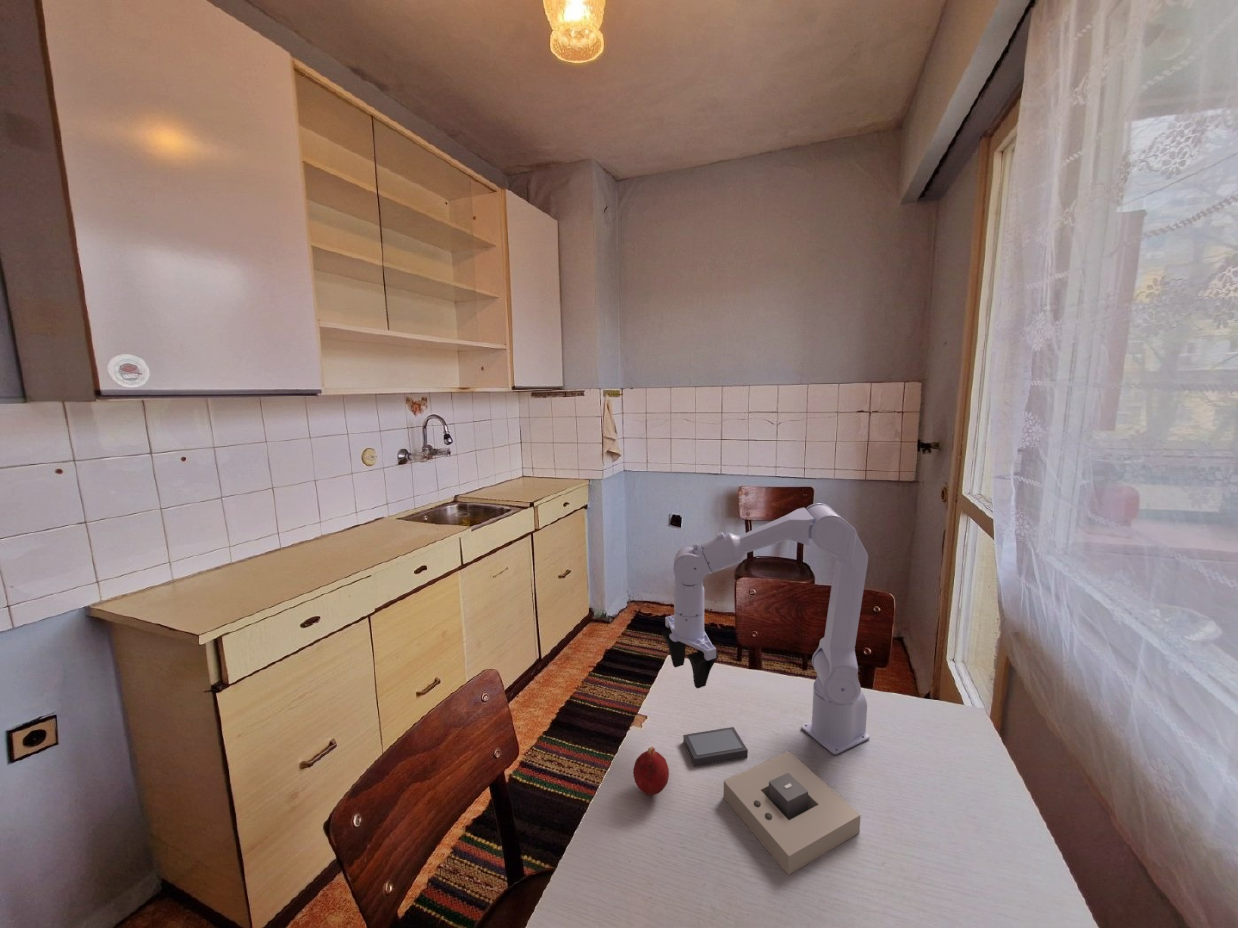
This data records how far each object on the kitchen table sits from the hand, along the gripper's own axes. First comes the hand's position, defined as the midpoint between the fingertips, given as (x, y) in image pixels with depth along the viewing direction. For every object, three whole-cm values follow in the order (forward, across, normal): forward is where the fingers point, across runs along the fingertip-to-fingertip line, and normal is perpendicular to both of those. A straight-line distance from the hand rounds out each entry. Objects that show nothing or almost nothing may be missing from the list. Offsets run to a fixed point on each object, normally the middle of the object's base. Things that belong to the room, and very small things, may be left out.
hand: (688, 675), depth 93 cm
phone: (+10, +8, 0) cm, 13 cm away
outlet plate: (+10, +24, +2) cm, 26 cm away
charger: (+10, +24, +2) cm, 26 cm away
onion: (+10, +11, -15) cm, 21 cm away
